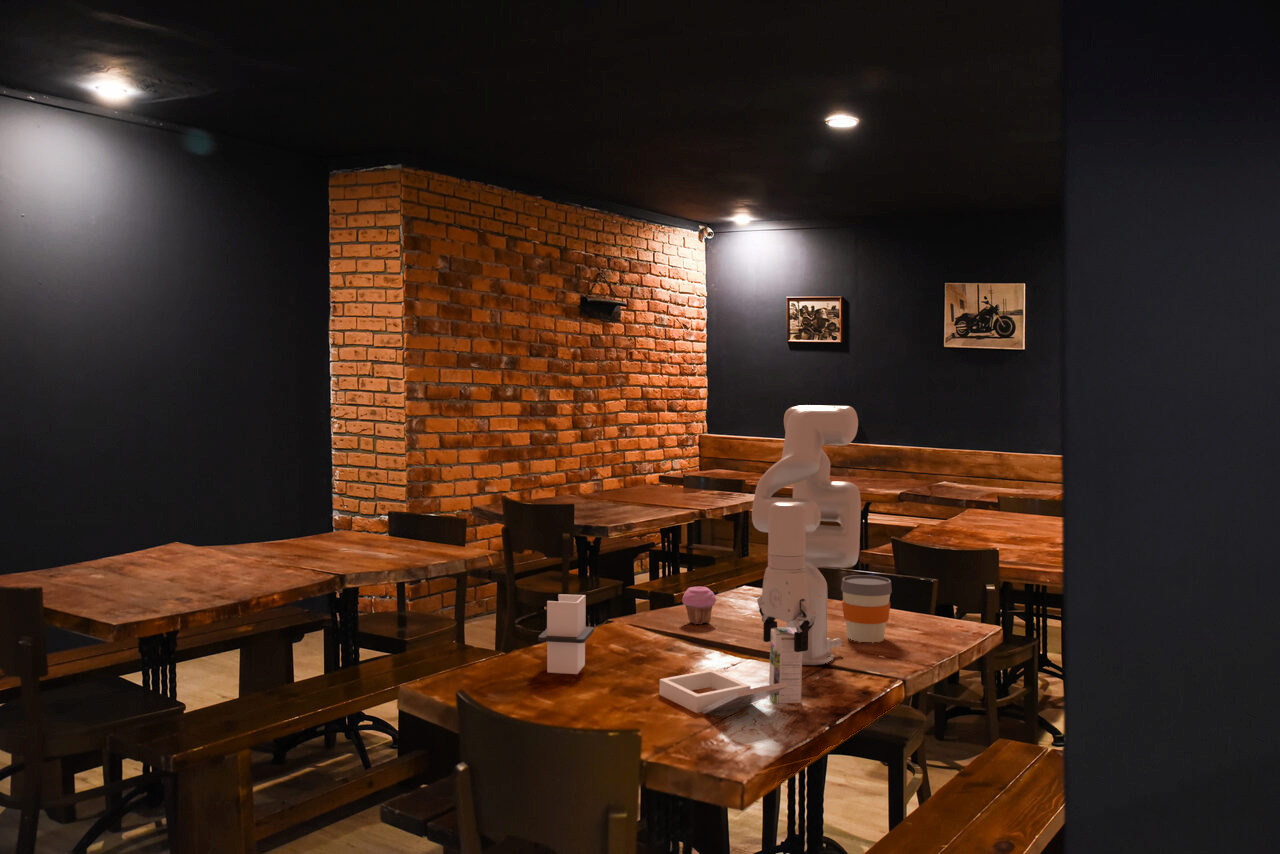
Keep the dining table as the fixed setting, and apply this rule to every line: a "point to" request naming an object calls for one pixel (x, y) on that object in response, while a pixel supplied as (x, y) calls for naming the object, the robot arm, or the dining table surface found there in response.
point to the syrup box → (785, 665)
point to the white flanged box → (566, 634)
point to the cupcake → (699, 604)
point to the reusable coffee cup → (866, 606)
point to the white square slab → (744, 697)
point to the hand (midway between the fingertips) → (785, 646)
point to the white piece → (683, 685)
